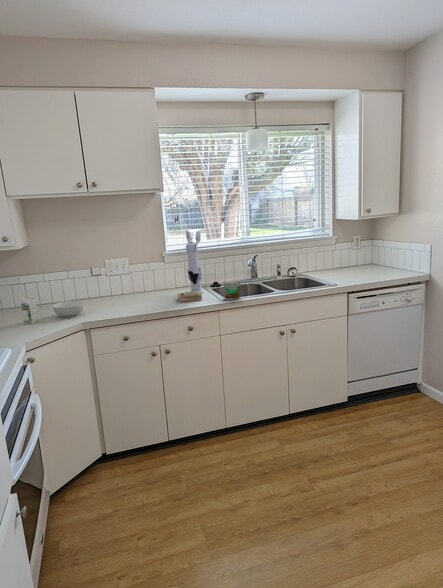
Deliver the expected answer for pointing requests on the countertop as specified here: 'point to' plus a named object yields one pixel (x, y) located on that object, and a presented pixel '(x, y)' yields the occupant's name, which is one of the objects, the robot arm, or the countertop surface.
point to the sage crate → (189, 293)
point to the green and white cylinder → (29, 309)
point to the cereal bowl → (68, 308)
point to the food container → (232, 290)
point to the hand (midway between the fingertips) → (193, 282)
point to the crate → (189, 297)
